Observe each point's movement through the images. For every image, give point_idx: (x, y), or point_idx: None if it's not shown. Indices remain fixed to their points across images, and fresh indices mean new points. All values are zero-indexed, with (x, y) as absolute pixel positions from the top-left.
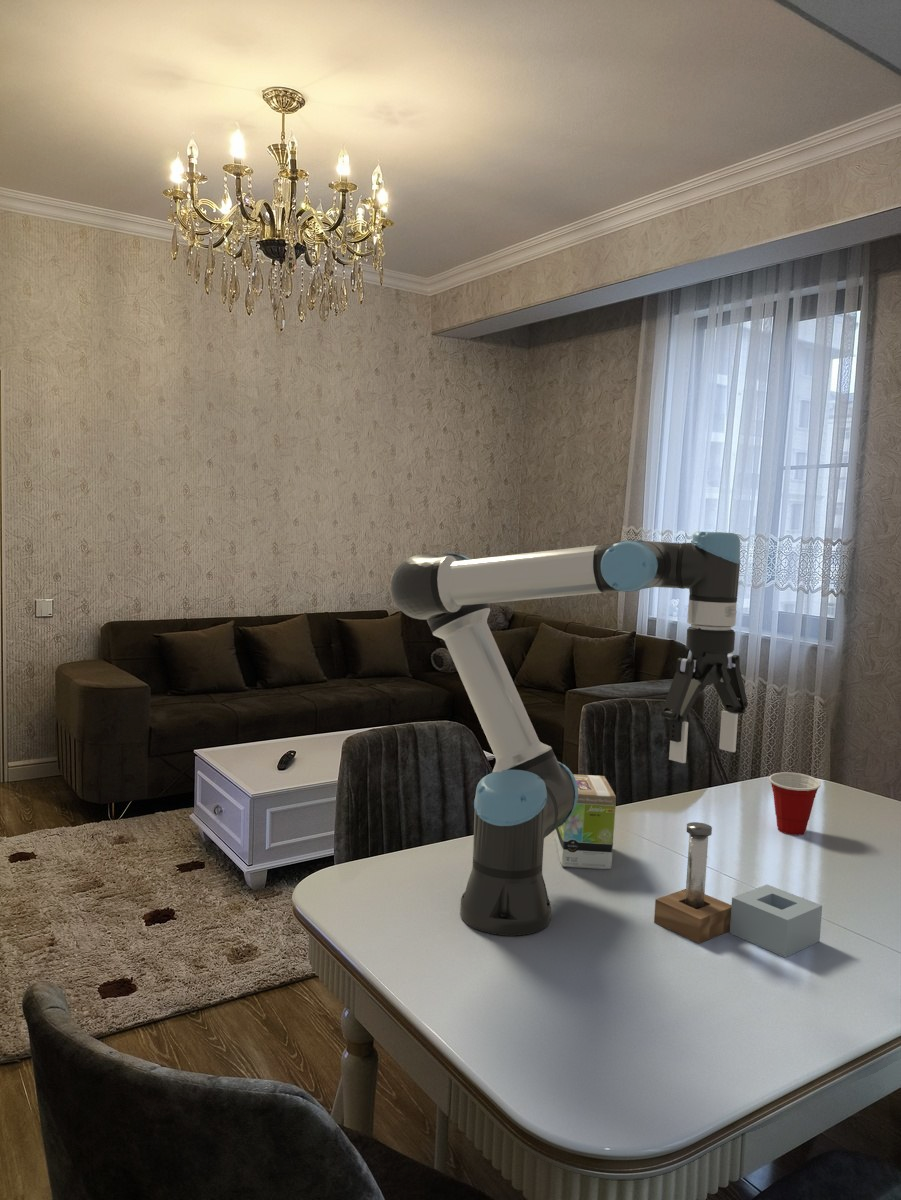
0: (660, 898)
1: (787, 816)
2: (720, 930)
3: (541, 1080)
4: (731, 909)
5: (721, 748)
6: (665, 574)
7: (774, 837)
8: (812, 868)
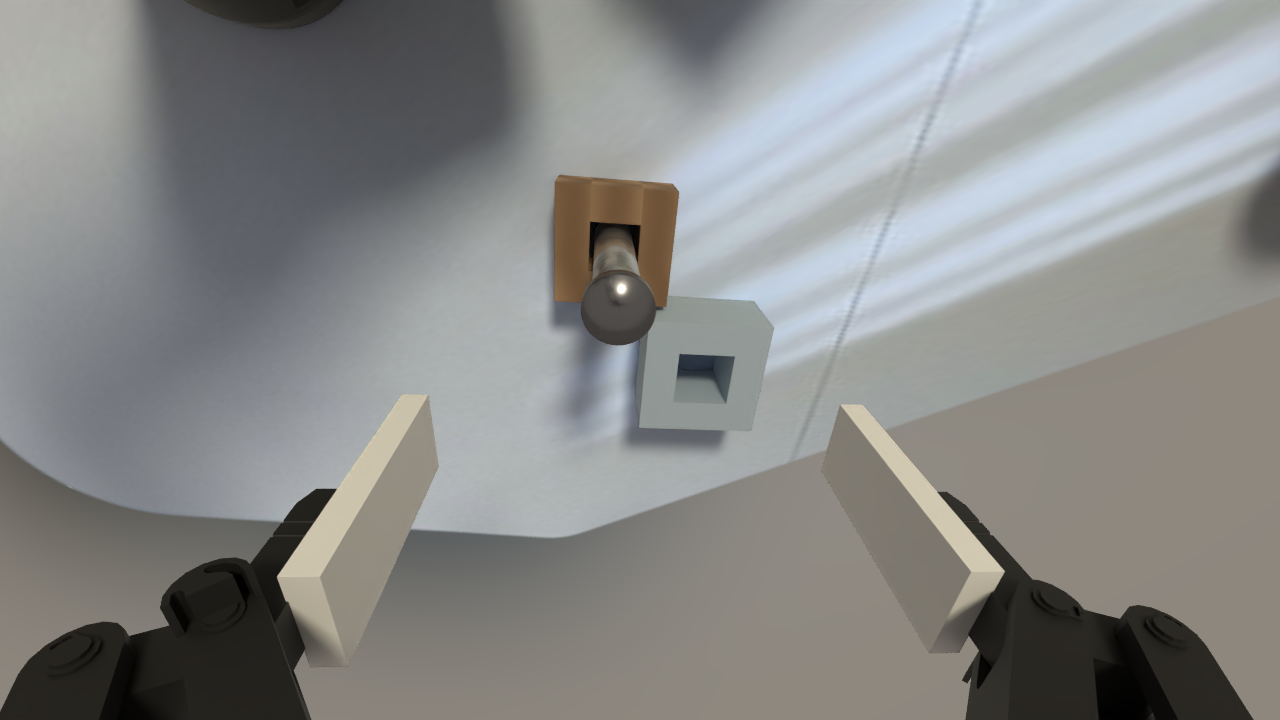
0: (568, 187)
1: None
2: None
3: (38, 379)
4: None
5: (837, 419)
6: None
7: None
8: (1091, 232)
